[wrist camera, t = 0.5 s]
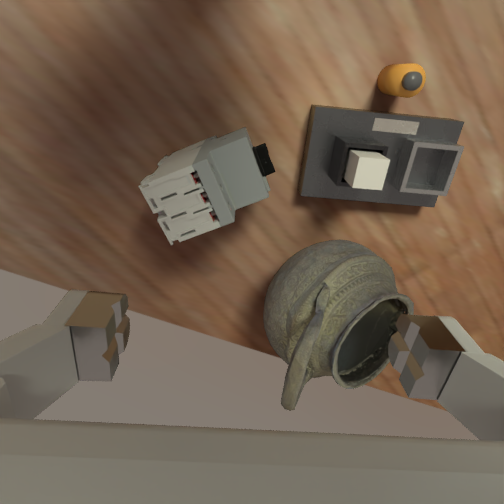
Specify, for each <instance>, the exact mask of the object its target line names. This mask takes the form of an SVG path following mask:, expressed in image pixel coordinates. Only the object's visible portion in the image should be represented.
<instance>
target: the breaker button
mask: <svg viewBox="0 0 504 504" xmlns="http://www.w3.org/2000/svg"><path fill="white" fill-rule="evenodd" d="M389 163H390V159H388V158H386V157H385V156H383V155H381V154H380V153H378V152H376V151H371V150H360V149H350V148H348V152H347V157H346V161H345V166H344V171H343V175H342V177H343V178H344V179H345V180H346V181H347V183H348V184H349V185H350V186H351V187H352V188H361V189H372V190H382V188H383V185H384V181H385V178H386V174H387V170H388V167H389Z"/></svg>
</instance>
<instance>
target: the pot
mask: <svg viewBox="0 0 504 504" xmlns="http://www.w3.org/2000/svg"><path fill="white" fill-rule="evenodd" d="M413 305H414V304H413V302H412V301H411V300H410V298H409V297H407V296H406V295H403V294H399V293H398V292H397V288H396V284H395V277H394V273H393V270H392V268H391V267H390V266H389V265H388V264H387V263H386V261H385V260H383V259H382V258H380V257H379V256H377V255H376V254H375V253H374V252H372V251H371V250H370V249H368V248H366V247H364V246H363V245H360V244H358V243H355V242H351V241H347V240H330V241H325V242H320V243H316V244H314V245H311V246H309V247H306V248H304V249H302V250H300V251H299V252H297V253H296V254H295V255H293V256H292V257H291V258H290V259H288V260H287V261H286V262H285V263H284V264H283V265H282V267H281V268H280V269H279V271H278V272H277V273H276V274H275V276H274V278H273V280H272V281H271V283H270V285H269V287H268V291H267V294H266V297H265V303H264V315H263V320H264V328H265V331H266V334H267V337H268V340H269V342H270V344H271V346H272V347H273V349H274V350H275V352H276V353H277V354H278V355H279V356H280V357H281V358H282V359H283V360H284V361H285V362H286V363H287V364H289V366H288V369H287V373H286V377H285V382H284V388H283V393H282V398H281V404H282V406H283V407H284V409H287V410H289V411H291V410H294V409H295V406H296V404H297V402H298V399H299V397H300V394H301V392H302V389H303V387H304V385H305V384H306V383H307V382H308V381H309V380H310V379H311V378H316V377H321V376H333V378H334V380H335V381H336V383H337V384H339V385H340V386H342V387H344V388H346V389H352V388H353V389H354V388H357V387H360V386H363V385H365V384H366V383H368V382H369V381H371V380H372V379H374V378H375V377H376V376H377V375H378V374H379V373H381V371H382V370H383V369H384V368H385V367H386V365H387V364H388V363H389V362H390V359H389V355H388V345H389V342H390V339H391V336H392V335H394V334H395V333H396V332H397V331H398V329H397V327H396V322H397V319H398V318H399V316H400V315H401V314H406V315H408V313H409V315H413ZM404 312H405V313H404Z"/></svg>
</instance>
